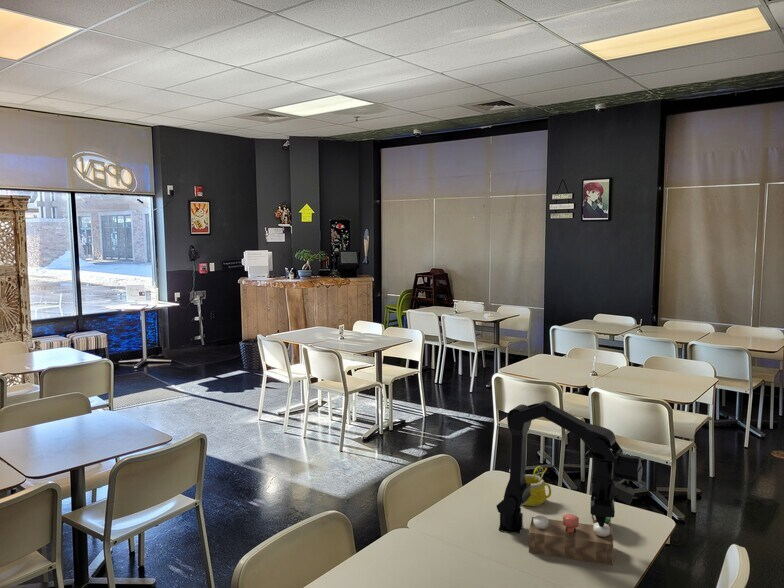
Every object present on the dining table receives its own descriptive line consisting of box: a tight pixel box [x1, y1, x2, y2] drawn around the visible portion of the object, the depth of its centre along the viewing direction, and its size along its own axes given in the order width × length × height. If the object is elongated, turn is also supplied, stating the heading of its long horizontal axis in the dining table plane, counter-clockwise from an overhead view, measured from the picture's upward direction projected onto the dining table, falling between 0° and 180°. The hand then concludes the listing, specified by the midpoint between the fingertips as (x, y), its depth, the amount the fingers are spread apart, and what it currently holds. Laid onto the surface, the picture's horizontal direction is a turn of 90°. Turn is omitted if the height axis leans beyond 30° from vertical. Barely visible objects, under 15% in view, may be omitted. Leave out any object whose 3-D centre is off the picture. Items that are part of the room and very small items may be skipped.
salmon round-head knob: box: [562, 513, 580, 533], centre depth 171 cm, size 4×4×8 cm
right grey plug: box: [593, 522, 611, 537], centre depth 168 cm, size 4×4×8 cm
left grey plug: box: [533, 515, 550, 529], centre depth 174 cm, size 4×4×8 cm
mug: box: [522, 465, 552, 507], centre depth 203 cm, size 13×11×12 cm
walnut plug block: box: [528, 516, 614, 566], centre depth 171 cm, size 23×10×6 cm, turn 71°
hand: (601, 526), depth 168 cm, fingers closed, pressing on right grey plug
